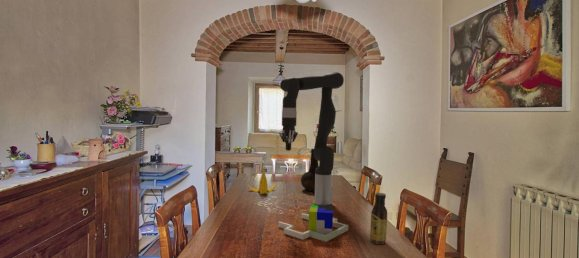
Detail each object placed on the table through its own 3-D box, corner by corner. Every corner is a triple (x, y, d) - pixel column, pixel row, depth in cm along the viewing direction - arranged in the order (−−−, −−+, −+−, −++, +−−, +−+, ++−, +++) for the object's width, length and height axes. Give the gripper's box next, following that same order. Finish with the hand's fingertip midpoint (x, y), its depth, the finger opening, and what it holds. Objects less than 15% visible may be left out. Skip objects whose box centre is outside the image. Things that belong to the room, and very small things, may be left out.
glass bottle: (329, 188, 224) (330, 148, 222) (323, 194, 207) (324, 150, 206) (304, 186, 229) (305, 146, 228) (297, 191, 213) (298, 149, 211)
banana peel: (265, 196, 198) (265, 169, 197) (247, 190, 212) (247, 165, 211) (285, 192, 209) (285, 167, 209) (266, 187, 223) (267, 163, 223)
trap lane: (271, 229, 141) (271, 224, 141) (307, 215, 162) (308, 211, 162) (319, 245, 125) (319, 239, 125) (353, 227, 146) (353, 222, 146)
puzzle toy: (332, 236, 134) (332, 213, 134) (308, 234, 136) (308, 211, 136) (332, 228, 144) (333, 206, 144) (310, 226, 146) (310, 205, 145)
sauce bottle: (367, 239, 132) (369, 191, 132) (382, 239, 133) (384, 191, 132) (373, 245, 126) (375, 195, 125) (388, 245, 126) (390, 195, 126)
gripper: (286, 116, 158) (285, 152, 159) (302, 117, 169) (301, 150, 169) (275, 116, 163) (274, 150, 164) (291, 116, 173) (290, 148, 174)
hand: (288, 150), depth 167 cm, fingers closed
